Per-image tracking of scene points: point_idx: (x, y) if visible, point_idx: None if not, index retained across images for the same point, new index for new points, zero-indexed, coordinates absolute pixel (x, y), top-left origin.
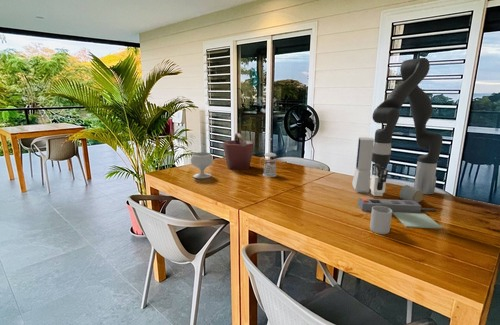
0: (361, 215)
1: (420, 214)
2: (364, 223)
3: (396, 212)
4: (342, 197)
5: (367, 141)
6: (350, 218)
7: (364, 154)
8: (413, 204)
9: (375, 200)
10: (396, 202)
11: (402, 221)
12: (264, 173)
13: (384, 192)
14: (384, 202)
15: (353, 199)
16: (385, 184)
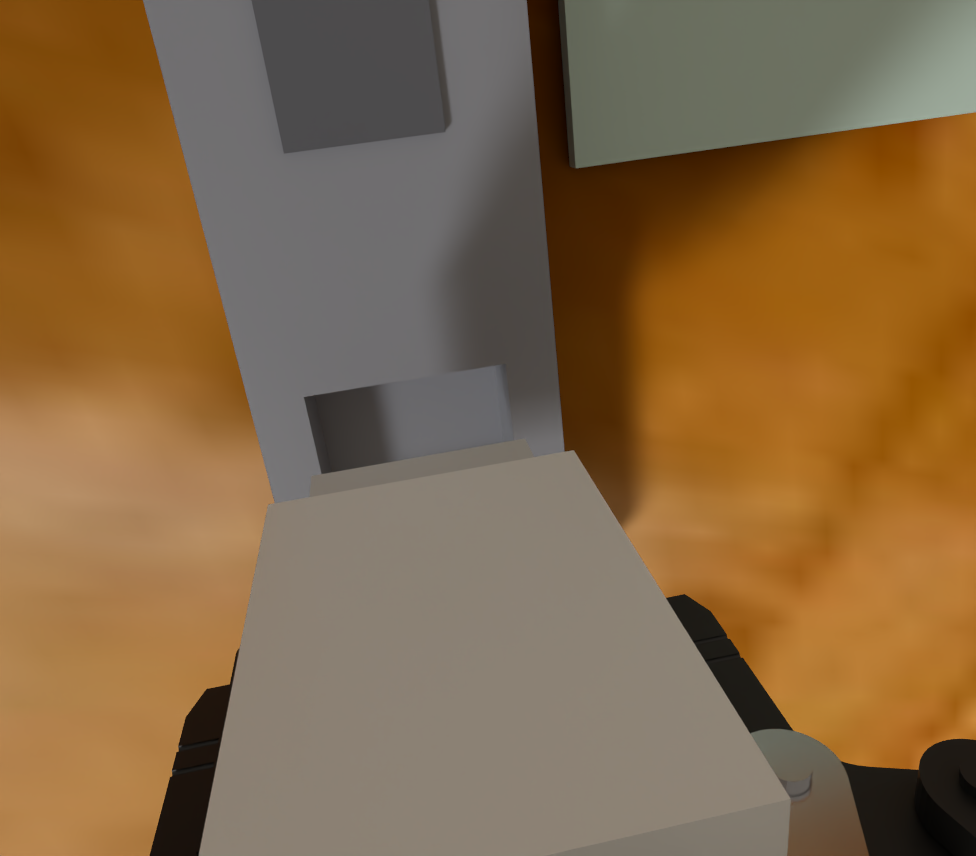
0: (716, 607)
1: None
2: (940, 588)
3: (583, 93)
4: (46, 822)
5: None
6: (813, 712)
7: None
8: None
9: (318, 456)
10: (388, 42)
11: (951, 104)
12: None
13: (572, 456)
14: (434, 315)
15: (71, 689)
16: (657, 592)
